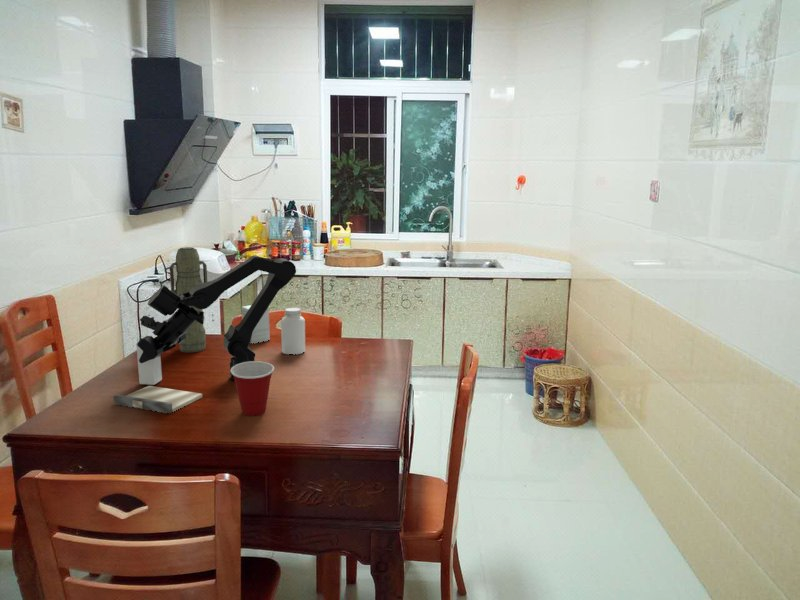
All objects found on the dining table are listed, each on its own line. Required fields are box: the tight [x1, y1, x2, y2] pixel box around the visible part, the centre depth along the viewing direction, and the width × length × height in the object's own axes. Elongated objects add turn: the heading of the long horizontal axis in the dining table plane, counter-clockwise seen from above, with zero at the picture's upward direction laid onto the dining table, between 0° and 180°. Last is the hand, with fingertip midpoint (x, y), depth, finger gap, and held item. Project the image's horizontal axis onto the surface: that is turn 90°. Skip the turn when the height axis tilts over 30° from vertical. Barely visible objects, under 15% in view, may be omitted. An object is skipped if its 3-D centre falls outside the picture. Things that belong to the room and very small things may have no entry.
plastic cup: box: [229, 360, 275, 417], centre depth 160 cm, size 11×11×12 cm
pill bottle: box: [280, 307, 306, 356], centre depth 214 cm, size 8×8×15 cm
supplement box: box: [241, 304, 271, 345], centre depth 228 cm, size 7×7×13 cm
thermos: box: [169, 246, 208, 353], centre depth 214 cm, size 9×12×35 cm
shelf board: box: [113, 385, 203, 415], centre depth 168 cm, size 18×13×2 cm
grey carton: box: [135, 343, 163, 386], centre depth 181 cm, size 5×4×12 cm
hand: (144, 359), depth 181 cm, fingers closed on grey carton, 4 cm apart
